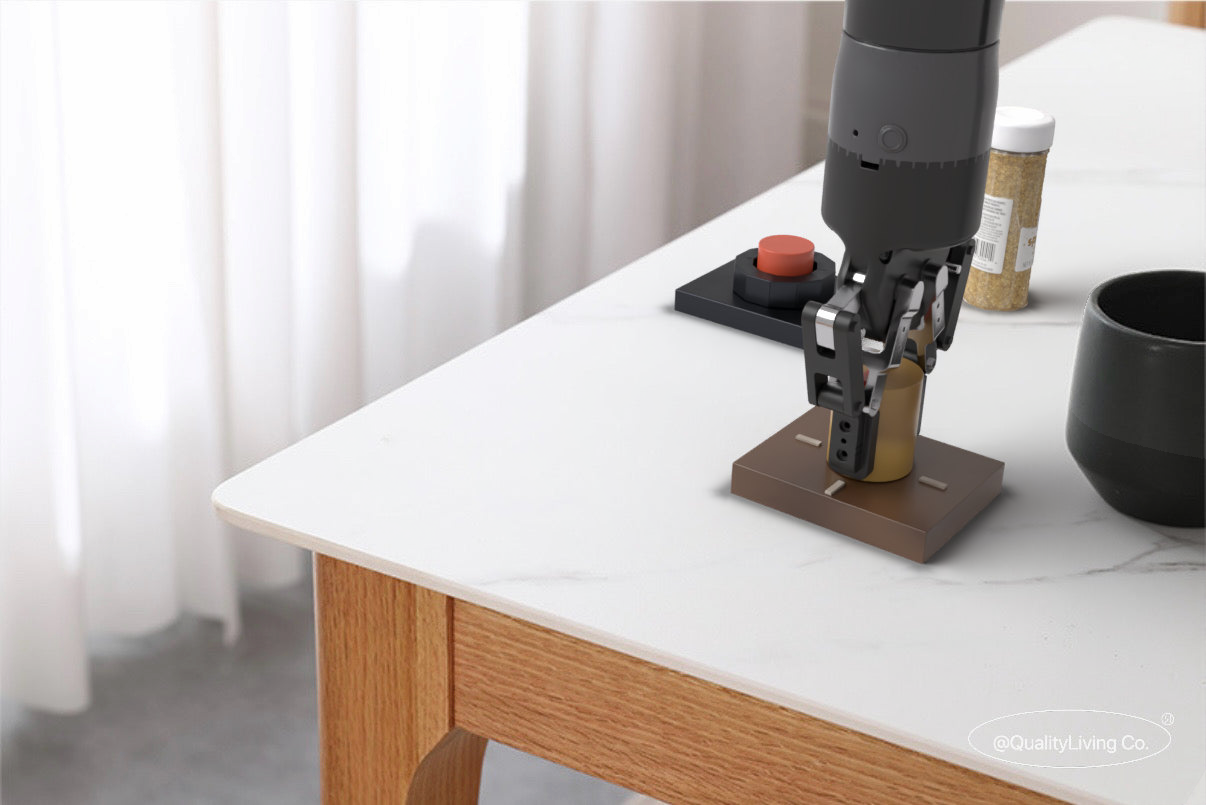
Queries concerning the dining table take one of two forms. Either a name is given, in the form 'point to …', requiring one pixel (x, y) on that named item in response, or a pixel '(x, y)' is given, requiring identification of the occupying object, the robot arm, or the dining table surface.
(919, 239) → the robot arm
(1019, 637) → the dining table surface
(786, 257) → the button
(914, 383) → the lock knob
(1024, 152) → the sprinkles bottle
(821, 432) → the lock plate
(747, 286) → the button block
